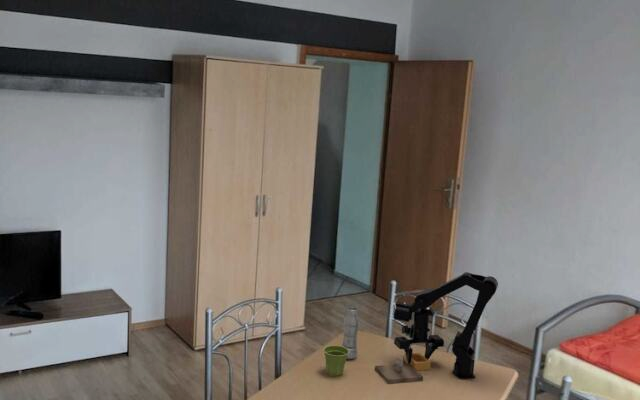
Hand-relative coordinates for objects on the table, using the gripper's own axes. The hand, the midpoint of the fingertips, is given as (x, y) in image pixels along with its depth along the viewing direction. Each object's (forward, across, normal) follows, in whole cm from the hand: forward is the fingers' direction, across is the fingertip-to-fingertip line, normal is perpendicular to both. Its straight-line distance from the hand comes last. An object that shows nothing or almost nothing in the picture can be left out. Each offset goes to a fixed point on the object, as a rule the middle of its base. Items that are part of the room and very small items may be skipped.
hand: (417, 362), depth 254 cm
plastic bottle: (+1, +24, -11) cm, 26 cm away
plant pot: (+1, +34, +1) cm, 34 cm away
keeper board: (+1, +11, +7) cm, 13 cm away
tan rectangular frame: (+1, 0, 0) cm, 1 cm away
